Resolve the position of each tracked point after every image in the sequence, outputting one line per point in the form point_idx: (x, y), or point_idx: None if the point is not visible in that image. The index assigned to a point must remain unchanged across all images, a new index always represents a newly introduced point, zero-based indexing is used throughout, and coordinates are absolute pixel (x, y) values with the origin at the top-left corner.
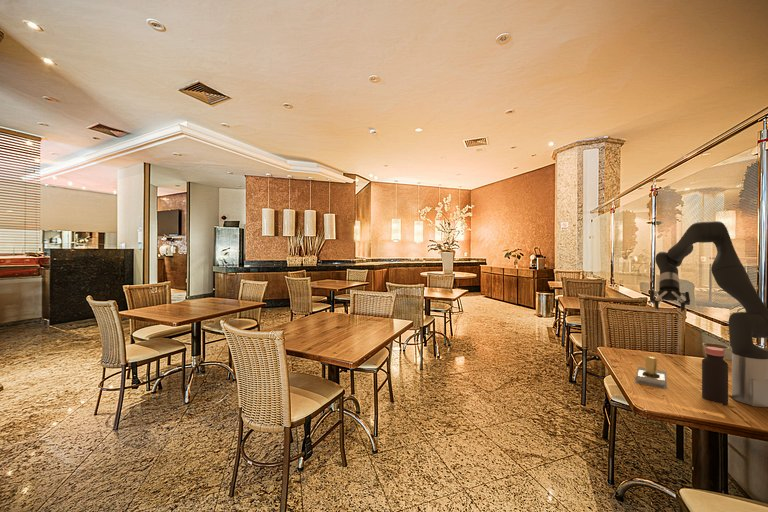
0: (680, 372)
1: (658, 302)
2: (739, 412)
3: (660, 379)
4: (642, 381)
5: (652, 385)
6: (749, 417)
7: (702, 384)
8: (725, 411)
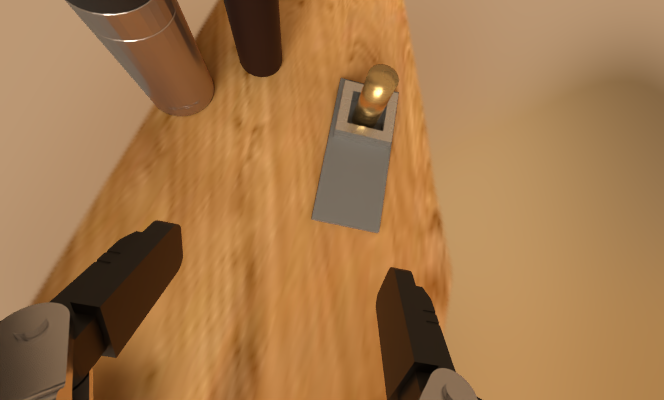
0: (267, 254)
1: (409, 333)
2: None
3: (352, 85)
4: None
5: None
6: None
7: (280, 33)
8: None
